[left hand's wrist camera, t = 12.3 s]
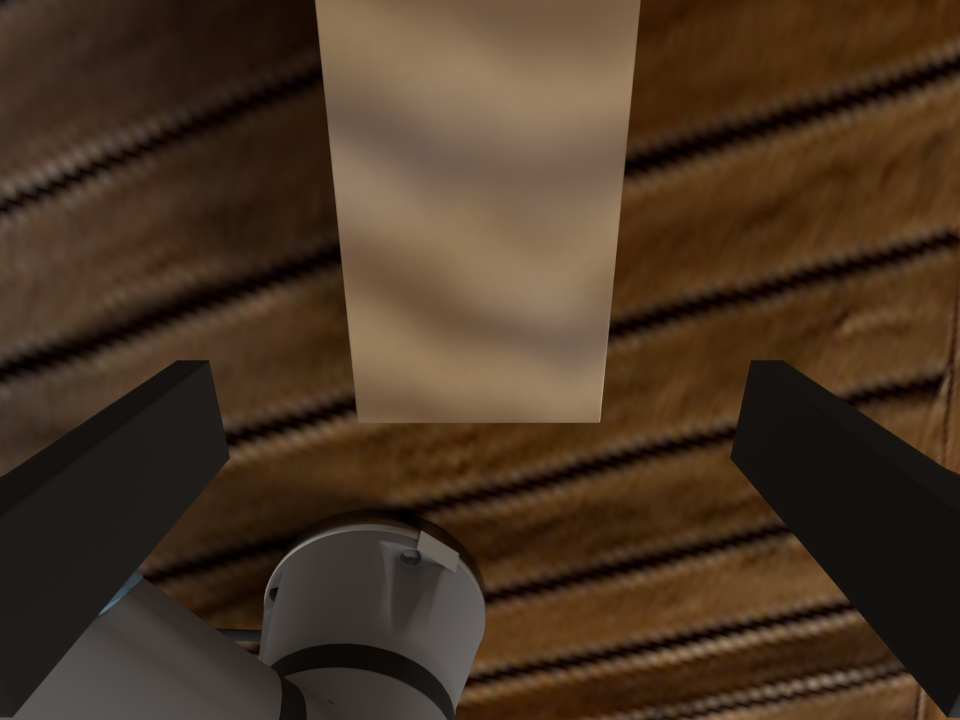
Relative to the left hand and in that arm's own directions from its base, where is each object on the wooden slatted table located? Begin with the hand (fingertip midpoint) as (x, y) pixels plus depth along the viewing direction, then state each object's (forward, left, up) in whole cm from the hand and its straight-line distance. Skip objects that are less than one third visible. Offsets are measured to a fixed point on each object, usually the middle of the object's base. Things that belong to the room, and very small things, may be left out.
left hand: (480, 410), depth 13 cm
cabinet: (+2, +6, -17) cm, 18 cm away
